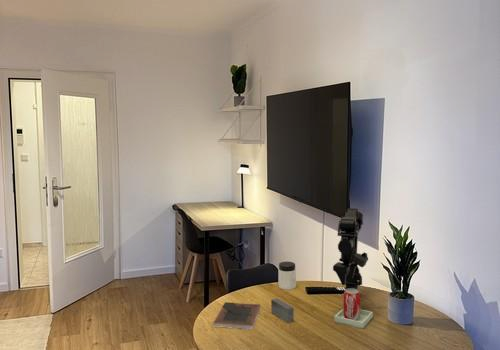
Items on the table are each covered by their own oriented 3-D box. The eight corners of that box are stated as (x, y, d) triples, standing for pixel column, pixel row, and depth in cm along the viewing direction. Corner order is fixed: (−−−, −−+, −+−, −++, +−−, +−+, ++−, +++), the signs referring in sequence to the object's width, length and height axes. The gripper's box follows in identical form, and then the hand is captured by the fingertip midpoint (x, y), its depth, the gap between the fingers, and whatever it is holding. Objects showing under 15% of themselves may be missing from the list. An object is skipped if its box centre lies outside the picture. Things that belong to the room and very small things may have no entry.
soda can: (363, 320, 191) (363, 292, 190) (347, 322, 190) (347, 294, 188) (355, 313, 198) (355, 286, 196) (340, 315, 196) (340, 288, 195)
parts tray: (345, 311, 202) (345, 306, 201) (372, 317, 195) (372, 312, 195) (334, 322, 192) (334, 316, 191) (362, 328, 185) (362, 323, 185)
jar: (287, 291, 226) (287, 267, 224) (275, 287, 232) (275, 264, 230) (299, 286, 232) (299, 263, 231) (287, 282, 238) (286, 260, 236)
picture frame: (225, 307, 210) (212, 328, 189) (224, 302, 210) (212, 322, 189) (260, 309, 207) (252, 331, 186) (260, 304, 207) (252, 325, 186)
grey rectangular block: (277, 311, 203) (277, 298, 203) (294, 320, 193) (293, 307, 193) (271, 312, 202) (271, 299, 201) (287, 322, 192) (287, 309, 191)
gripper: (358, 255, 188) (357, 292, 189) (372, 244, 203) (372, 278, 205) (332, 251, 194) (332, 287, 196) (348, 241, 209) (348, 274, 211)
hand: (347, 281), depth 202 cm, fingers open, 9 cm apart
